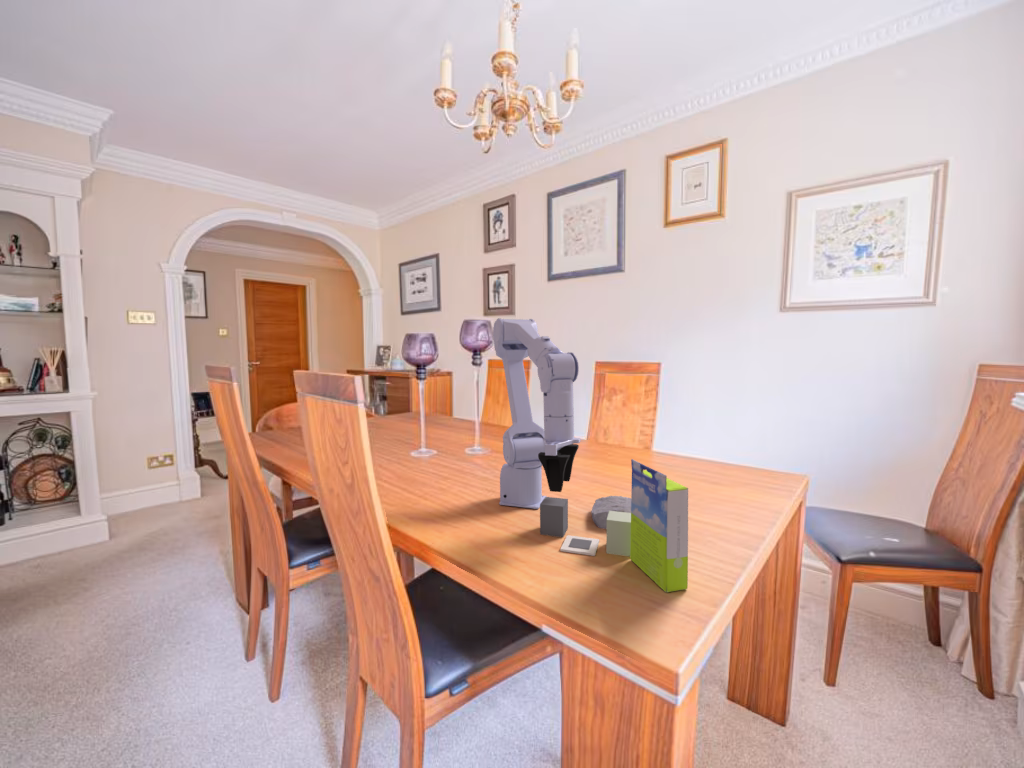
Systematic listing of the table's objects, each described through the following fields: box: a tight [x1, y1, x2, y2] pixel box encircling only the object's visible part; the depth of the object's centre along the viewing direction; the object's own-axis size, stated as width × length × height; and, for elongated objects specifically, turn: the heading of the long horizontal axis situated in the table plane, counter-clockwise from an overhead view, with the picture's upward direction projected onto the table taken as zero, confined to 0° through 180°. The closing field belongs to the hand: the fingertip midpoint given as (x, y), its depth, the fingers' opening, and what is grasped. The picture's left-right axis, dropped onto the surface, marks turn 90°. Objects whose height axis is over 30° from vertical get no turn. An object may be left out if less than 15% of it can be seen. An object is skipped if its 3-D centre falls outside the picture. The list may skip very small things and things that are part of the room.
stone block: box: [591, 495, 631, 530], centre depth 89 cm, size 12×5×10 cm
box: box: [629, 458, 689, 593], centre depth 66 cm, size 10×4×17 cm, turn 13°
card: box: [559, 534, 600, 557], centre depth 76 cm, size 6×6×1 cm
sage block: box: [605, 511, 631, 557], centre depth 75 cm, size 4×4×6 cm
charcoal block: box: [539, 496, 569, 538], centre depth 83 cm, size 4×4×6 cm
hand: (560, 485), depth 82 cm, fingers open, 7 cm apart
